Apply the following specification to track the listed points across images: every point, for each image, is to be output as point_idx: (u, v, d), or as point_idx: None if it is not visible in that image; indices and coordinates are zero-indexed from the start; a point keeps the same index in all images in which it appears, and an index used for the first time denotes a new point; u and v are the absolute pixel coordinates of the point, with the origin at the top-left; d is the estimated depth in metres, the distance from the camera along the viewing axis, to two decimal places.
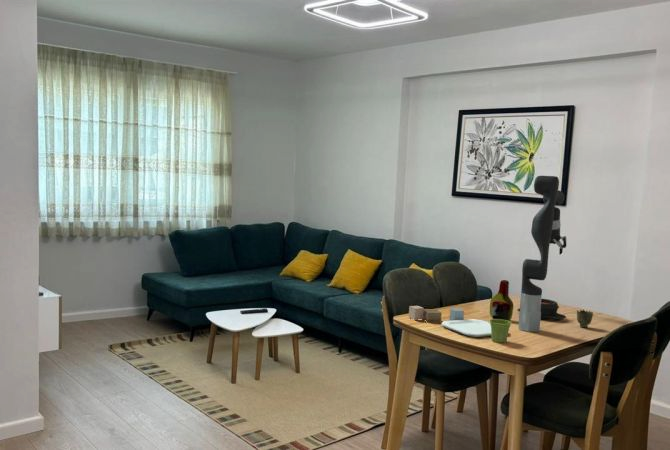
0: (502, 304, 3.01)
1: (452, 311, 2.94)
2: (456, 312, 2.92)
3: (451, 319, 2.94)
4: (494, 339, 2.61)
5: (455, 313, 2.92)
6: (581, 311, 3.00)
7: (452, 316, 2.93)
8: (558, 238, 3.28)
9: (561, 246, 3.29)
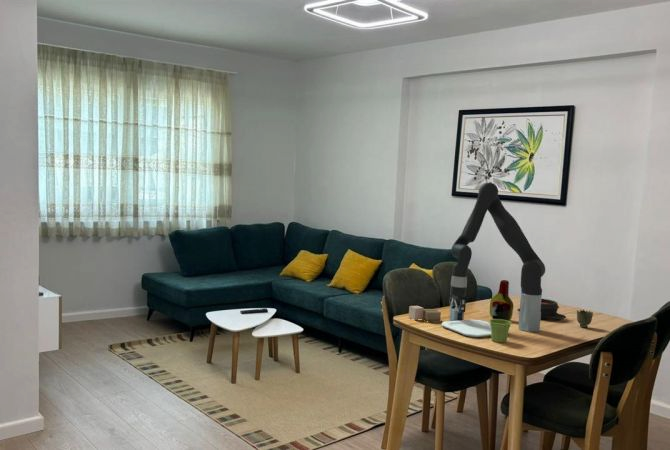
0: (502, 304, 3.01)
1: (452, 311, 2.94)
2: (456, 312, 2.92)
3: (451, 319, 2.94)
4: (494, 339, 2.61)
5: (455, 313, 2.92)
6: (581, 311, 3.00)
7: (452, 316, 2.93)
8: None
9: (455, 305, 3.00)
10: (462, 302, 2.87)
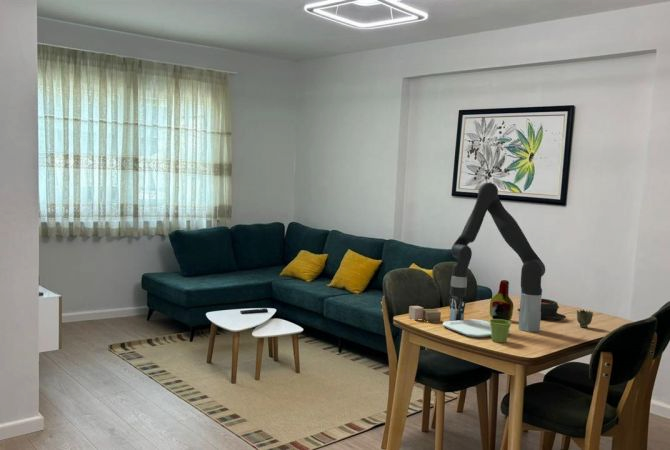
0: (502, 304, 3.01)
1: (452, 311, 2.93)
2: None
3: (451, 319, 2.94)
4: (494, 339, 2.61)
5: (455, 313, 2.91)
6: (581, 311, 3.00)
7: (452, 316, 2.93)
8: None
9: None
10: (462, 304, 2.87)
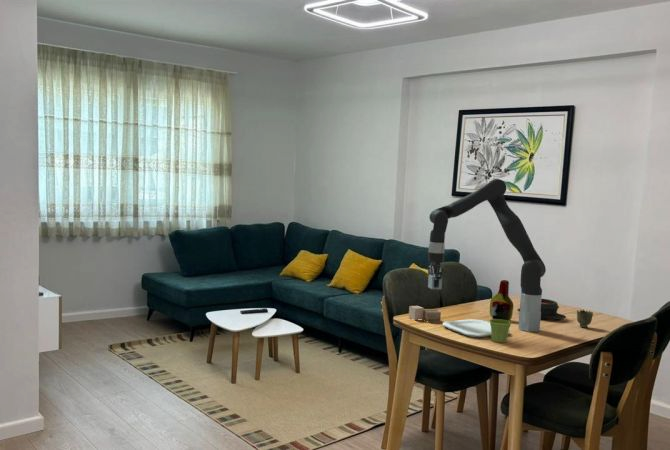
0: (502, 304, 3.01)
1: (430, 277, 2.92)
2: None
3: (429, 285, 2.93)
4: (494, 339, 2.61)
5: (433, 279, 2.90)
6: (581, 311, 3.00)
7: (430, 282, 2.92)
8: None
9: None
10: (439, 270, 2.86)
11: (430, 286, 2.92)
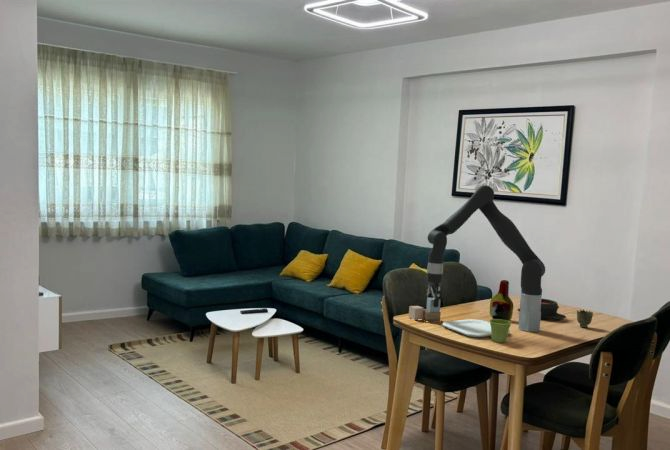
0: (502, 304, 3.01)
1: (428, 300, 2.93)
2: (432, 301, 2.91)
3: (428, 308, 2.93)
4: (494, 339, 2.61)
5: (431, 302, 2.91)
6: (581, 311, 3.00)
7: (428, 305, 2.92)
8: None
9: (432, 292, 2.98)
10: (438, 289, 2.86)
11: (428, 309, 2.92)
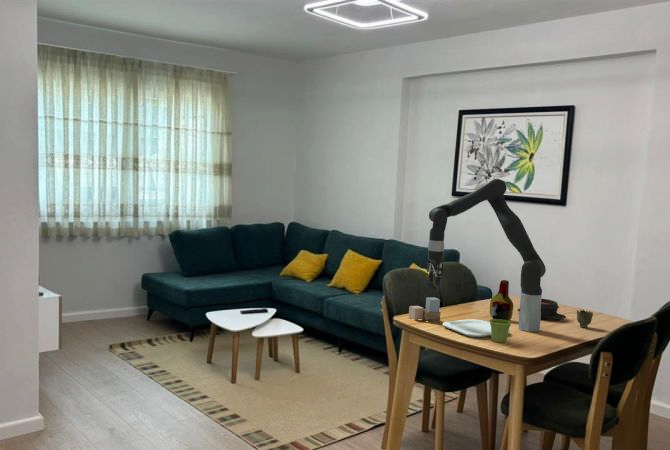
0: (502, 304, 3.01)
1: (428, 300, 2.93)
2: (432, 301, 2.91)
3: (427, 308, 2.93)
4: (494, 339, 2.61)
5: (430, 302, 2.91)
6: (581, 311, 3.00)
7: (428, 304, 2.92)
8: None
9: (433, 271, 2.97)
10: (439, 266, 2.85)
11: (428, 309, 2.92)
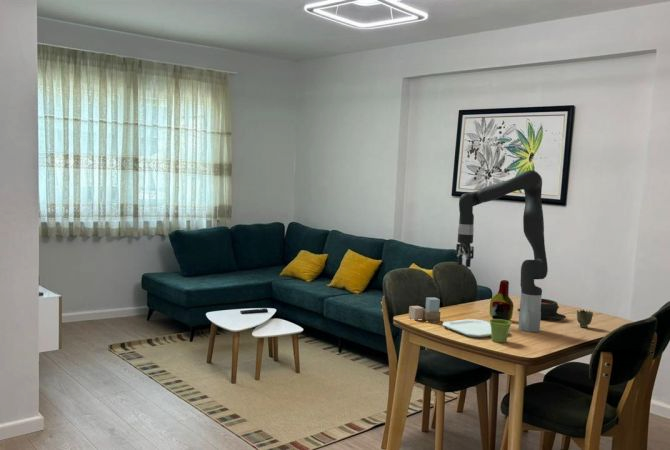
0: (502, 304, 3.01)
1: (428, 300, 2.93)
2: (432, 301, 2.91)
3: (427, 308, 2.93)
4: (494, 339, 2.61)
5: (430, 302, 2.91)
6: (581, 311, 3.00)
7: (428, 304, 2.93)
8: None
9: None
10: (470, 248, 2.95)
11: (428, 309, 2.92)
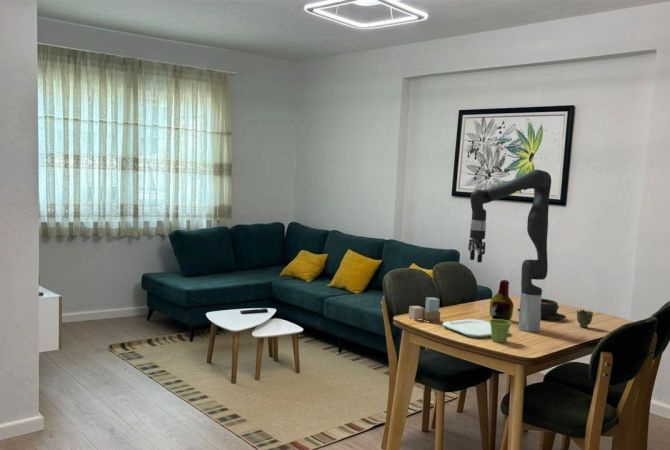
0: (502, 304, 3.01)
1: (427, 300, 2.93)
2: (431, 301, 2.91)
3: (426, 308, 2.94)
4: (494, 339, 2.61)
5: (430, 302, 2.91)
6: (581, 311, 3.00)
7: (427, 304, 2.93)
8: None
9: None
10: (482, 244, 3.01)
11: (427, 309, 2.93)
